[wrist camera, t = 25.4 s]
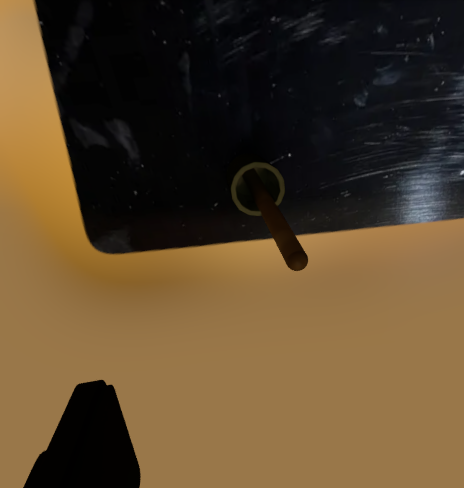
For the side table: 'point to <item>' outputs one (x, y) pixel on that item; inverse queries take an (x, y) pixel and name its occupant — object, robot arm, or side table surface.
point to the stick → (276, 222)
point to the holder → (240, 189)
